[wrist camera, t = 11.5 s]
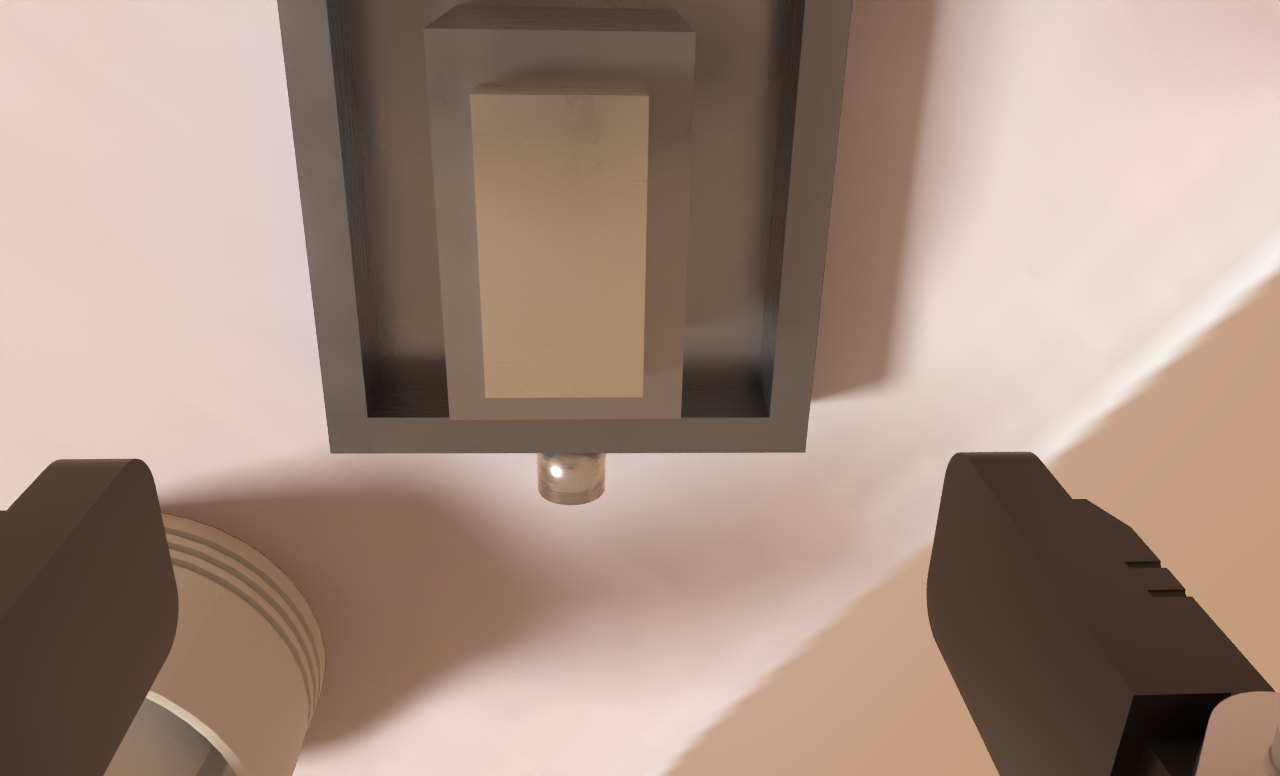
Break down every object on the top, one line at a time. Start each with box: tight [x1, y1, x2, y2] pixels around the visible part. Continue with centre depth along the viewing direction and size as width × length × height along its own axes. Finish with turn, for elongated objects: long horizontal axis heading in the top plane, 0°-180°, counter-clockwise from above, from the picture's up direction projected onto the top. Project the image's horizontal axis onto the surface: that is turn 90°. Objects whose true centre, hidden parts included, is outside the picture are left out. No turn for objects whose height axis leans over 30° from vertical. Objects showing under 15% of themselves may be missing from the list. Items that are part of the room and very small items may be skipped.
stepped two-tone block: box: [423, 6, 696, 420], centre depth 22 cm, size 8×5×6 cm, turn 179°
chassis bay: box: [277, 0, 852, 505], centre depth 24 cm, size 16×12×3 cm
